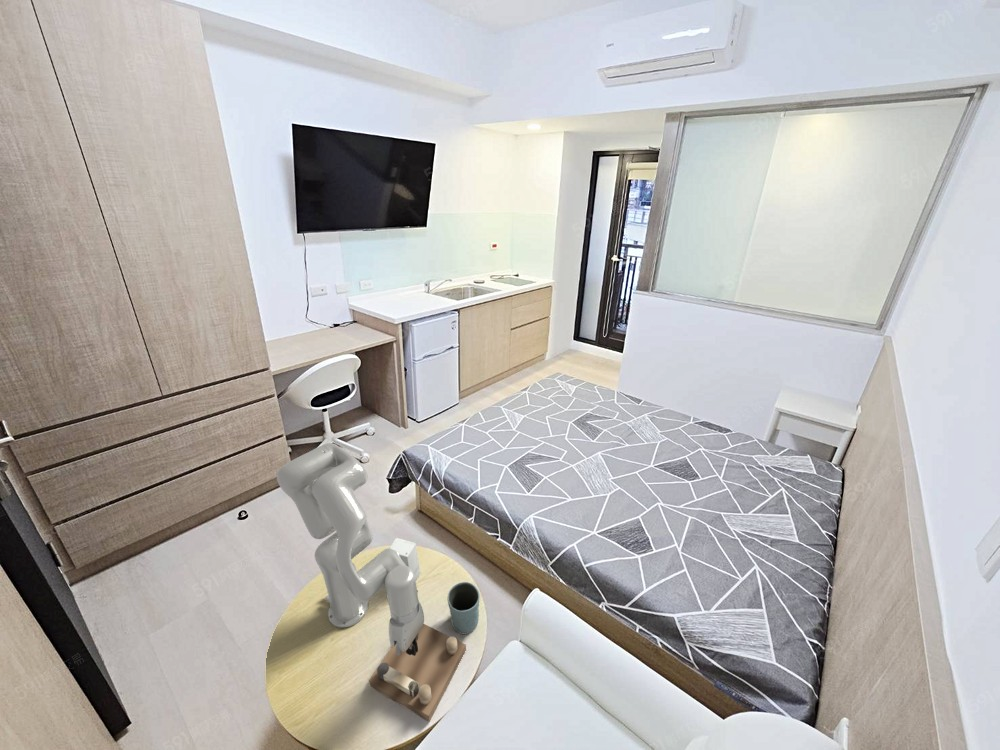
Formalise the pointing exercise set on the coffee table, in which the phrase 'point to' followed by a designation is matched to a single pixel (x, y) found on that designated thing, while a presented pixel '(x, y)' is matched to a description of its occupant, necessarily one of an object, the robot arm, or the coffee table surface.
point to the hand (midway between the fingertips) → (412, 651)
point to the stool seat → (423, 671)
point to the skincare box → (407, 554)
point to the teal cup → (464, 607)
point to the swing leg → (398, 679)
